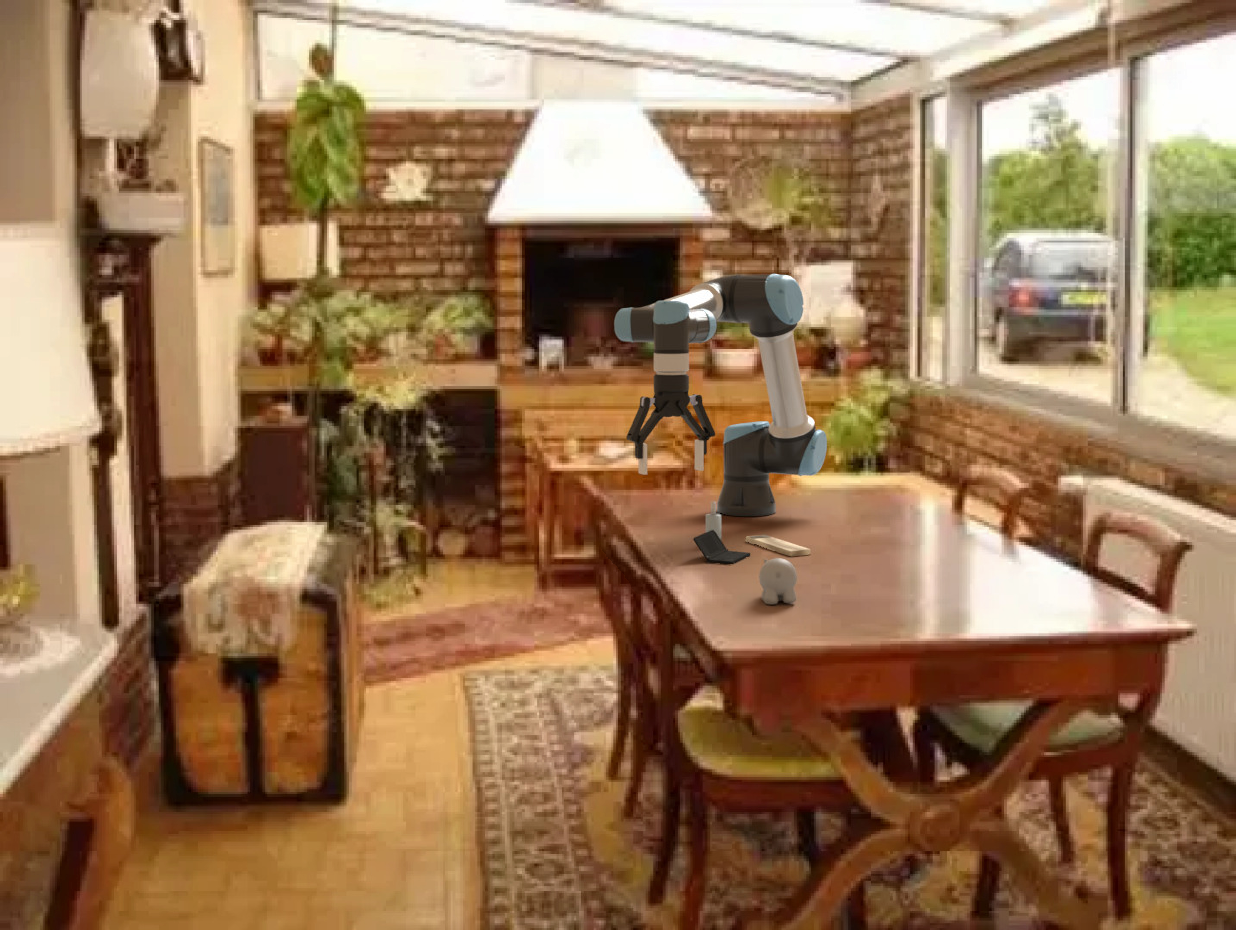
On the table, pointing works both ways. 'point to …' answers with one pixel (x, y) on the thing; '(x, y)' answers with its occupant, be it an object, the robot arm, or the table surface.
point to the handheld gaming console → (717, 549)
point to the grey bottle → (713, 520)
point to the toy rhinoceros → (778, 581)
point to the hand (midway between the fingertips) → (671, 472)
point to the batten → (778, 545)
